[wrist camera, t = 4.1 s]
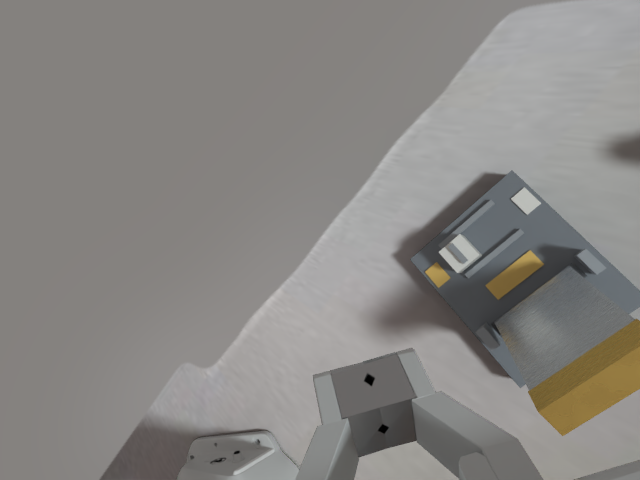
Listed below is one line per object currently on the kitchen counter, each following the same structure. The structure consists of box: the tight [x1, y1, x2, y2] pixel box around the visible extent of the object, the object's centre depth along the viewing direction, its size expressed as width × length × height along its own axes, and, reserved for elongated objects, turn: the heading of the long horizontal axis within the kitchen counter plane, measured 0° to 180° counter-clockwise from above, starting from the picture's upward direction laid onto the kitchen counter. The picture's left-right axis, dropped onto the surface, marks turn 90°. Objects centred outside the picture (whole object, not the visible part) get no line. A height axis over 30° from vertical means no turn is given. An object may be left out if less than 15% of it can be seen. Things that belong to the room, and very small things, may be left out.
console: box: [410, 171, 640, 388], centre depth 45 cm, size 18×15×6 cm
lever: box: [491, 262, 640, 436], centre depth 36 cm, size 3×10×16 cm, turn 130°
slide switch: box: [439, 234, 482, 273], centre depth 47 cm, size 3×3×4 cm
